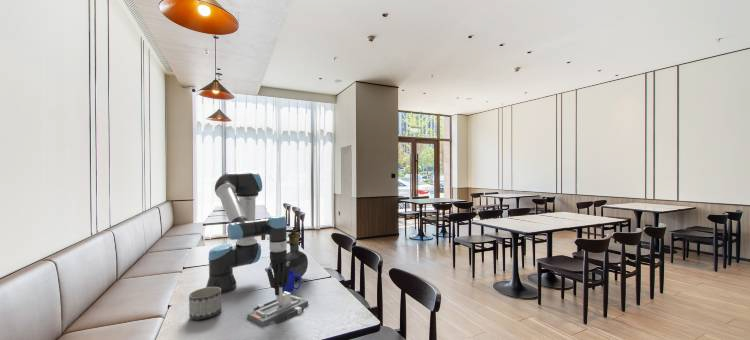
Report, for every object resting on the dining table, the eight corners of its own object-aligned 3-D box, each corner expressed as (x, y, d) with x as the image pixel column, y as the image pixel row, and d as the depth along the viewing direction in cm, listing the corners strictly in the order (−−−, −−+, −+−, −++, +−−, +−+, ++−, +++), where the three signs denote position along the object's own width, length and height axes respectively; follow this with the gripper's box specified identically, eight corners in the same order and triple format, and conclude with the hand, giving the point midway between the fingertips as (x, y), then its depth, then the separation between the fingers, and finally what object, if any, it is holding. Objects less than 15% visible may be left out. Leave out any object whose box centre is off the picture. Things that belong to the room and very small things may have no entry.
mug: (297, 295, 155) (297, 276, 155) (276, 294, 157) (275, 275, 157) (304, 289, 163) (304, 271, 163) (284, 288, 165) (283, 270, 165)
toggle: (278, 304, 140) (278, 293, 140) (285, 301, 143) (285, 290, 143) (283, 306, 138) (283, 295, 138) (290, 303, 141) (290, 292, 141)
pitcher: (310, 276, 182) (309, 227, 183) (290, 288, 165) (288, 233, 165) (296, 274, 187) (294, 226, 187) (274, 285, 169) (273, 232, 169)
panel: (247, 318, 132) (247, 311, 132) (292, 298, 151) (292, 292, 151) (262, 326, 125) (262, 318, 125) (308, 304, 144) (308, 298, 144)
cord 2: (274, 322, 128) (274, 317, 128) (300, 309, 139) (300, 305, 139) (278, 324, 126) (277, 319, 126) (304, 311, 137) (304, 306, 137)
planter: (199, 324, 128) (198, 300, 128) (183, 317, 134) (183, 294, 134) (227, 312, 138) (226, 289, 138) (211, 306, 145) (211, 284, 145)
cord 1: (252, 311, 138) (252, 307, 138) (278, 301, 149) (278, 296, 149) (255, 313, 136) (255, 308, 136) (281, 302, 147) (281, 297, 147)
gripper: (270, 254, 131) (271, 308, 131) (295, 248, 141) (296, 298, 141) (260, 252, 135) (262, 304, 135) (285, 245, 146) (286, 294, 146)
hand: (279, 301), depth 138 cm, fingers closed
